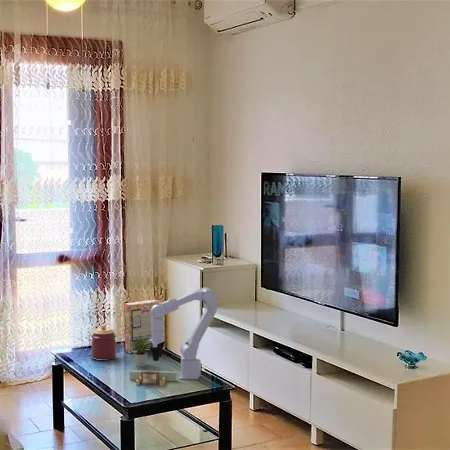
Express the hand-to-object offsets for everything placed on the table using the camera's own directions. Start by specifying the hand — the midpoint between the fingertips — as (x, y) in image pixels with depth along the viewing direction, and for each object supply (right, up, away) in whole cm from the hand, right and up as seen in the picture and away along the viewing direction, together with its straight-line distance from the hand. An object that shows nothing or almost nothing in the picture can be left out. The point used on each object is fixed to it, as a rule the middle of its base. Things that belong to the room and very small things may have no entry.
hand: (157, 358), depth 341 cm
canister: (-32, -7, +41) cm, 53 cm away
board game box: (-13, -6, +58) cm, 60 cm away
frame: (-3, -11, -7) cm, 13 cm away
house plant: (-12, -8, +25) cm, 29 cm away
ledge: (-2, -10, -4) cm, 11 cm away
